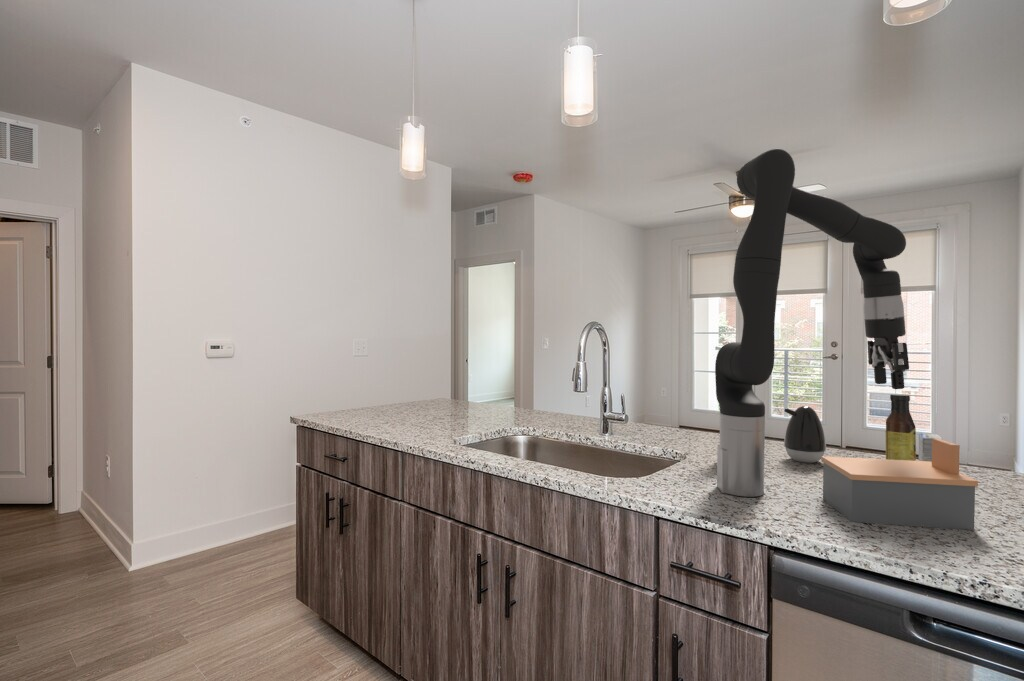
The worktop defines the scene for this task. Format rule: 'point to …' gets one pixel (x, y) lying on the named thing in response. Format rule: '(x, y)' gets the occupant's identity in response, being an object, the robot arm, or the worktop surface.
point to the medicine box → (926, 446)
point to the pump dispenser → (804, 435)
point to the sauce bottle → (900, 430)
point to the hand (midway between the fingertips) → (889, 386)
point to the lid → (907, 467)
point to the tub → (900, 502)
